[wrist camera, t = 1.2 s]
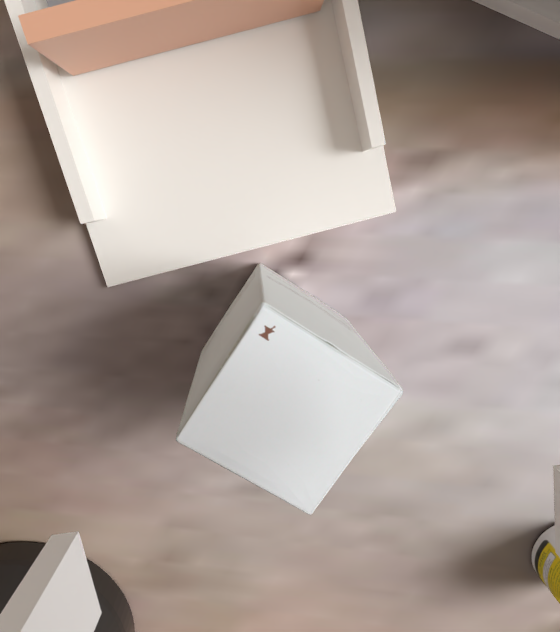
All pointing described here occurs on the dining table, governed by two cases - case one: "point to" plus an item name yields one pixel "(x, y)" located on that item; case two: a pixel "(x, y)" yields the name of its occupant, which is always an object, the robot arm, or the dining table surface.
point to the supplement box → (285, 392)
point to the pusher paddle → (143, 27)
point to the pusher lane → (218, 141)
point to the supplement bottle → (547, 561)
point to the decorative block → (530, 13)
